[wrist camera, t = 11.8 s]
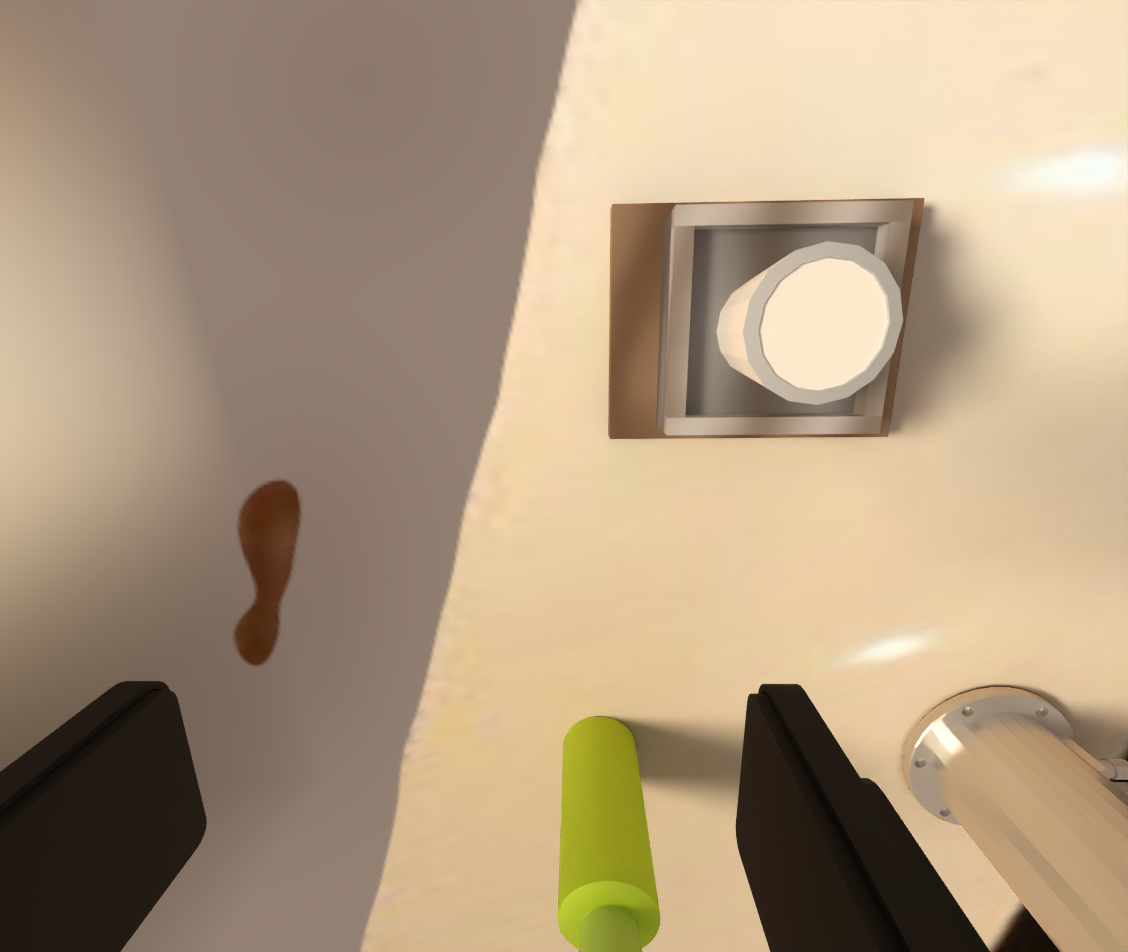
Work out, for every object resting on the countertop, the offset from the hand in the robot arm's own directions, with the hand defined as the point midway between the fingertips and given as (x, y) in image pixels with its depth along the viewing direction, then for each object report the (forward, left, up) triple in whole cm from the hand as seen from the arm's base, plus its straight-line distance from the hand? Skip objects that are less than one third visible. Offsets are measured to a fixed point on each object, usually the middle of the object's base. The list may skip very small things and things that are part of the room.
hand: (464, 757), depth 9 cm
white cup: (-13, -7, -24) cm, 28 cm away
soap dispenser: (-4, +26, -28) cm, 39 cm away
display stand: (-13, -7, -28) cm, 32 cm away
